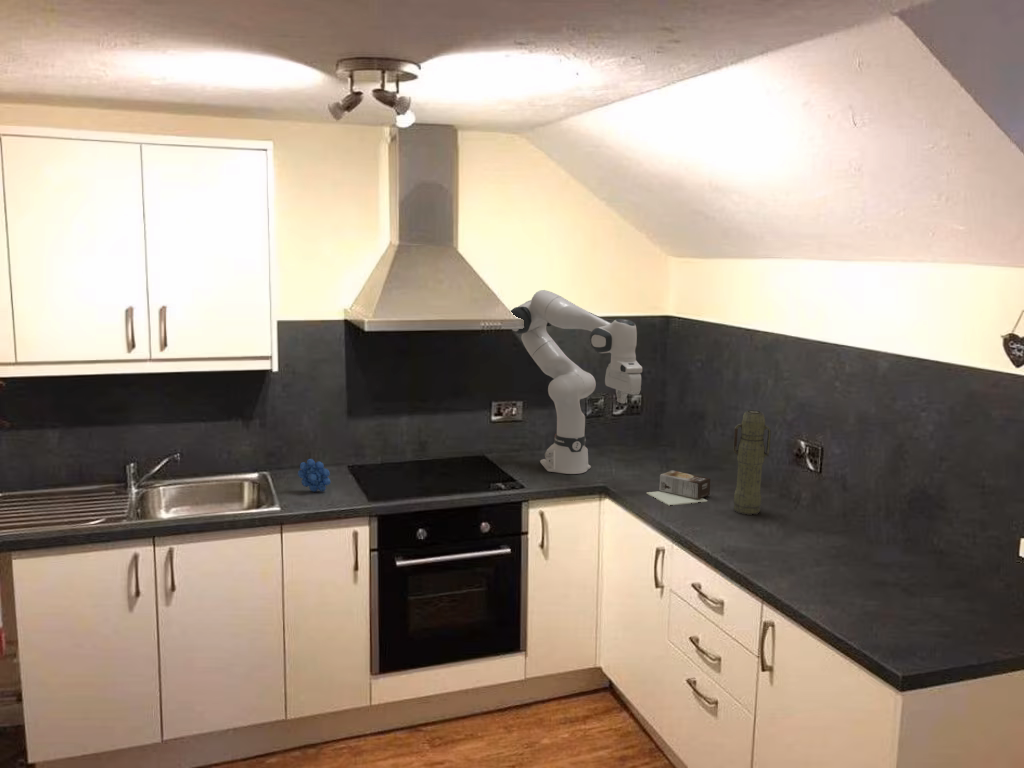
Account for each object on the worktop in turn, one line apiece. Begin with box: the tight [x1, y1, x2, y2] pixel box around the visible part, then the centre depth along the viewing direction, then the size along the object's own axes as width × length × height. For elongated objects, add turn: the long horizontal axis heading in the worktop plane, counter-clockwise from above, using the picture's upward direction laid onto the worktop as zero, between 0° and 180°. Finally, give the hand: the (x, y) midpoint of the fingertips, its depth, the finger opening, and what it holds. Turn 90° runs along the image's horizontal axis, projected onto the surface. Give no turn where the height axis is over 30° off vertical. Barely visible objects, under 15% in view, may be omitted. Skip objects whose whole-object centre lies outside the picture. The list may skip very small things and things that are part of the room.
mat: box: [646, 490, 708, 507], centre depth 311 cm, size 15×16×1 cm
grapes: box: [297, 458, 331, 493], centre depth 304 cm, size 12×7×12 cm, turn 89°
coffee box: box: [658, 470, 711, 499], centre depth 315 cm, size 9×6×16 cm
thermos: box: [732, 409, 772, 516], centre depth 295 cm, size 9×12×35 cm
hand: (621, 402), depth 312 cm, fingers closed
